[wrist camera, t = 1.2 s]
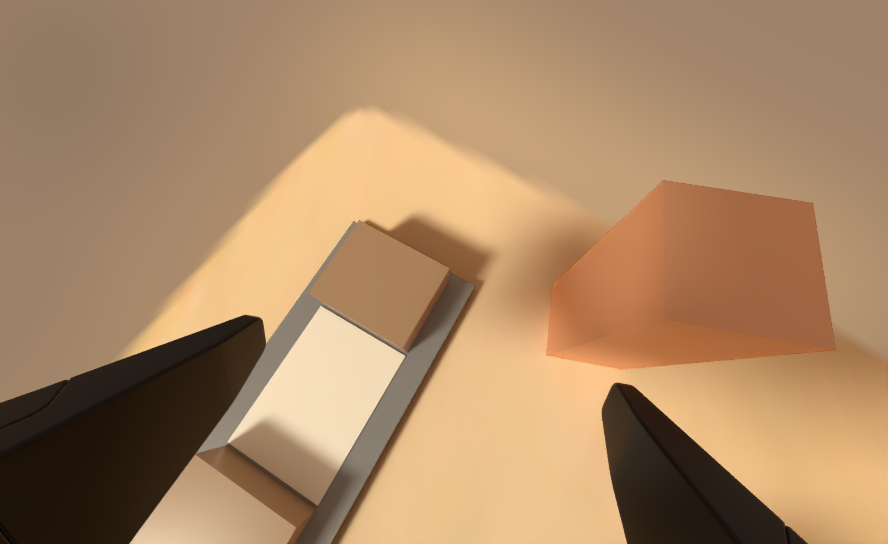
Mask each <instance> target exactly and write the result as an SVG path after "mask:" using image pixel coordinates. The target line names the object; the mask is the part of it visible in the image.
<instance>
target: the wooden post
mask: <svg viewBox="0 0 888 544" xmlns="http://www.w3.org/2000/svg"><path fill="white" fill-rule="evenodd" d="M830 350H836V349H835V342H834V336H833V329H832V323H831V316H830V310H829V304H828V297H827V291H826V284H825V278H824V271H823V265H822V258H821V253H820V246H819V239H818V233H817V226H816V220H815V213H814V207H813V203H809V202H803V201H796V200H790V199H783V198H776V197H770V196H763V195H757V194H750V193H743V192H737V191H731V190H723V189H717V188H711V187H704V186H698V185H691V184H685V183H678V182H672V181H665V180H663V181H662V182H661V183H660V184H659V185H658V186H657V187H656V188H655V189H654V190H652V191H651V192H650V193H649V194H648V195H647V196H646V197H645V198H644V199H643V200H642V201H641V202H640V203H639V204H638V205H637V206H635V207H634V208H633V209H632V210H631V211H630V212H629V213H628V214H627V215H626V216H625V217H624V218H623V219H622V220H621V221H620V222H619V223H618V224H616V225H615V226H614V227H613V228H612V229H611V230H610V231H609V232H608V233H607V234H606V235H605V236H604V237H603V238H602V239H601V240H600V241H598V242H597V243H596V244H595V245H594V246H593V247H592V248H591V249H590V250H589V251H588V252H587V253H586V254H585V255H584V256H583V257H582V258H581V259H579V260H578V261H577V262H576V263H575V264H574V265H573V266H572V267H571V268H570V269H569V270H568V271H567V272H566V273H565V274H564V275H563V276H561V277H560V278H559V279H558V280H557V281H556V282H555V283H554V284H553V289H552V300H551V310H550V321H549V331H548V342H547V353H546V355H547V356H552V357H558V358H563V359H568V360H574V361H579V362H585V363H590V364H595V365H601V366H606V367H611V368H617V369H633V368H644V367H655V366H666V365H677V364H688V363H699V362H710V361H721V360H732V359H743V358H754V357H764V356H775V355H786V354H797V353H808V352H819V351H830Z"/></svg>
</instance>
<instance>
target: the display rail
mask: <svg viewBox="0 0 888 544" xmlns="http://www.w3.org/2000/svg"><path fill="white" fill-rule="evenodd" d="M473 290H474V285H472V284H470V283H468V282H466V281H464V280H463V279H461V278H459V277H457V276H455V275H453V274H451V273H450V268H448V267H446V266H444V265H442V264H441V263H439V262H437V261H435V260H433V259H431V258H429V257H427V256H426V255H424V254H422V253H420V252H418V251H416V250H414V249H412V248H411V247H409V246H407V245H405V244H403V243H401V242H399V241H397V240H396V239H394V238H392V237H390V236H388V235H386V234H384V233H382V232H381V231H379V230H377V229H375V228H373V227H371V226H369V225H367V224H366V223H364V222H362V221H360V220H359V221H358V223H356V222H354V221H353V223H352V224H351V226H350V227H349V228H348V230H347V231H346V233H345V234H344V235H343V237H342V238H341V240H340V241H339V242H338V244H337V245H336V247H335V248H334V249H333V251H332V252H331V254H330V255H329V256H328V258H327V259H326V261H325V262H324V263H323V265H322V266H321V268H320V269H319V271H318V272H317V273H316V275H315V276H314V278H313V279H312V280H311V282H310V283H309V285H308V286H307V287H306V289H305V290H304V292H303V293H302V294H301V296H300V297H299V299H298V300H297V301H296V303H295V304H294V306H293V307H292V308H291V310H290V311H289V313H288V314H287V316H286V317H285V318H284V320H283V321H282V323H281V324H280V325H279V327H278V328H277V330H276V331H275V332H274V334H273V335H272V337H271V338H270V339H269V341H268V342H267V344H266V347H265V350H264V352H263V354H262V356H261V357H260V359H259V361H258V362H257V364H256V366H255V367H254V369H253V371H252V372H251V374H250V376H249V377H248V379H247V381H246V383H245V384H244V386H243V388H242V389H241V391H240V393H239V394H238V396H237V397H236V399H235V401H234V402H233V404H232V405H231V406H230V408H229V409H228V411H227V412H226V413H225V415H224V416H223V417H222V419H221V420H220V422H219V423H218V424H217V426H216V427H215V428H214V430H213V431H212V432H211V434H210V435H209V436H208V438H207V439H206V441H205V442H204V443H203V445H202V446H201V447H200V449H199V450H198V451H197V453H196V454H195V455H194V457H193V458H192V460H191V461H190V462H189V464H188V465H187V466H186V468H185V469H184V470H183V472H182V473H181V474H180V476H179V477H178V479H177V480H176V481H175V483H174V484H173V485H172V487H171V488H170V489H169V491H168V492H167V493H166V495H165V496H164V498H163V499H162V500H161V502H160V503H159V504H158V506H157V507H156V508H155V510H154V511H153V512H152V514H151V515H150V517H149V518H148V519H147V521H146V522H145V523H144V525H143V526H142V527H141V529H140V530H139V531H138V533H137V534H136V535H135V538H134V540H133V541H132V543H131V544H332V542H333V540H334V538H335V536H336V535H337V533H338V531H339V529H340V527H341V526H342V524H343V522H344V520H345V519H346V517H347V515H348V513H349V511H350V510H351V508H352V506H353V504H354V502H355V501H356V499H357V497H358V495H359V493H360V492H361V490H362V488H363V486H364V485H365V483H366V481H367V479H368V477H369V476H370V474H371V472H372V470H373V468H374V467H375V465H376V463H377V461H378V459H379V458H380V456H381V454H382V452H383V451H384V449H385V447H386V445H387V443H388V442H389V440H390V438H391V436H392V434H393V433H394V431H395V429H396V427H397V426H398V424H399V422H400V420H401V418H402V417H403V415H404V413H405V411H406V409H407V408H408V406H409V404H410V402H411V400H412V399H413V397H414V395H415V393H416V392H417V390H418V388H419V386H420V384H421V383H422V381H423V379H424V377H425V375H426V374H427V372H428V370H429V368H430V366H431V365H432V363H433V361H434V359H435V358H436V356H437V354H438V352H439V350H440V349H441V347H442V345H443V343H444V341H445V340H446V338H447V336H448V334H449V333H450V331H451V329H452V327H453V325H454V324H455V322H456V320H457V318H458V316H459V315H460V313H461V311H462V309H463V307H464V306H465V304H466V302H467V300H468V299H469V297H470V295H471V293H472V291H473Z"/></svg>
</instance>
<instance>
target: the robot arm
mask: <svg viewBox="0 0 888 544" xmlns="http://www.w3.org/2000/svg"><path fill="white" fill-rule="evenodd" d="M265 347H266V339H265V332H264V325H263V321H262V319H261V318H260V317H256V316H250V315H243V316H240V317H237V318H235V319H232V320H229V321H226V322H223V323H221V324H218V325H215V326H212V327H210V328H207V329H204V330H201V331H199V332H196V333H193V334H190V335H188V336H185V337H182V338H179V339H177V340H174V341H171V342H168V343H166V344H163V345H160V346H157V347H155V348H152V349H149V350H146V351H144V352H141V353H138V354H135V355H133V356H130V357H127V358H124V359H121V360H119V361H116V362H113V363H110V364H108V365H105V366H102V367H99V368H97V369H94V370H91V371H88V372H86V373H83V374H80V375H78V376H75V377H72V378H70V380H63V381H61V382H58V383H55V384H52V385H50V386H47V387H44V388H42V389H39V390H36V391H33V392H30V393H27V394H25V395H21V396H19V397H16V398H13V399H10V400H7V401H5V402H1V403H0V544H130V542H131V541H132V540H133V538H134V537H135V535H136V534H137V533H138V531H139V530H140V529H141V527H142V526H143V525H144V523H145V522H146V521H147V519H148V518H149V517H150V515H151V514H152V512H153V511H154V510H155V508H156V507H157V506H158V504H159V503H160V502H161V500H162V499H163V498H164V496H165V495H166V493H167V492H168V491H169V489H170V488H171V487H172V485H173V484H174V483H175V481H176V480H177V479H178V477H179V476H180V474H181V473H182V472H183V470H184V469H185V468H186V466H187V465H188V464H189V462H190V461H191V460H192V458H193V457H194V455H195V454H196V453H197V451H198V450H199V449H200V447H201V446H202V445H203V443H204V442H205V441H206V439H207V438H208V436H209V435H210V434H211V432H212V431H213V430H214V428H215V427H216V426H217V424H218V423H219V422H220V420H221V419H222V417H223V416H224V415H225V413H226V412H227V411H228V409H229V408H230V406H231V405H232V404H233V402H234V401H235V399H236V397H237V396H238V394H239V393H240V391H241V389H242V388H243V386H244V384H245V383H246V381H247V379H248V377H249V376H250V374H251V372H252V371H253V369H254V367H255V366H256V364H257V362H258V361H259V359H260V357H261V356H262V354H263V352H264V350H265ZM602 421H603V428H604V435H605V442H606V449H607V456H608V463H609V470H610V475H611V481H612V485H613V489H614V493H615V497H616V501H617V505H618V509H619V513H620V517H621V521H622V525H623V529H624V533H625V537H626V541H627V544H808V543H807V542H806V541H804V540H803V539H802V538H801V537H800V536H799V535H798V534H797V533H796V532H795V531H793V530H792V529H791V528H790V527H788V526H785V523H784V522H783V521H782V520H781V519H780V518H779V517H778V516H777V515H776V514H774V513H773V512H772V511H771V510H770V509H769V508H768V507H767V506H766V505H764V504H763V503H762V502H761V501H760V500H759V499H758V498H757V497H756V496H755V495H753V494H752V493H751V492H750V491H749V490H748V489H747V488H746V487H745V486H743V485H742V484H741V483H740V482H739V481H738V480H737V479H736V478H735V477H734V476H732V475H731V474H730V473H729V472H728V471H727V470H726V469H725V468H724V467H722V466H721V465H720V464H719V463H718V462H717V461H716V460H715V459H714V458H712V457H711V456H710V455H709V454H708V453H707V452H706V451H705V450H704V449H703V448H701V447H700V446H699V445H698V444H697V443H696V442H695V441H694V440H693V439H691V438H690V437H689V436H688V435H687V434H686V433H685V432H684V431H683V430H682V429H680V428H679V427H678V426H677V425H676V424H675V423H674V422H673V421H672V420H670V419H669V418H668V417H667V416H666V415H665V414H664V413H663V412H662V411H660V410H659V409H658V408H657V407H656V406H655V405H654V404H653V403H652V402H651V401H649V400H648V399H647V398H646V397H645V396H644V395H643V394H642V393H641V392H639V391H638V390H637V389H636V388H635V387H634V386H632V385H628V384H622V383H614V384H613V385H612V387H611V389H610V391H609V393H608V396H607V398H606V400H605V402H604V404H603V407H602Z"/></svg>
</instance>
